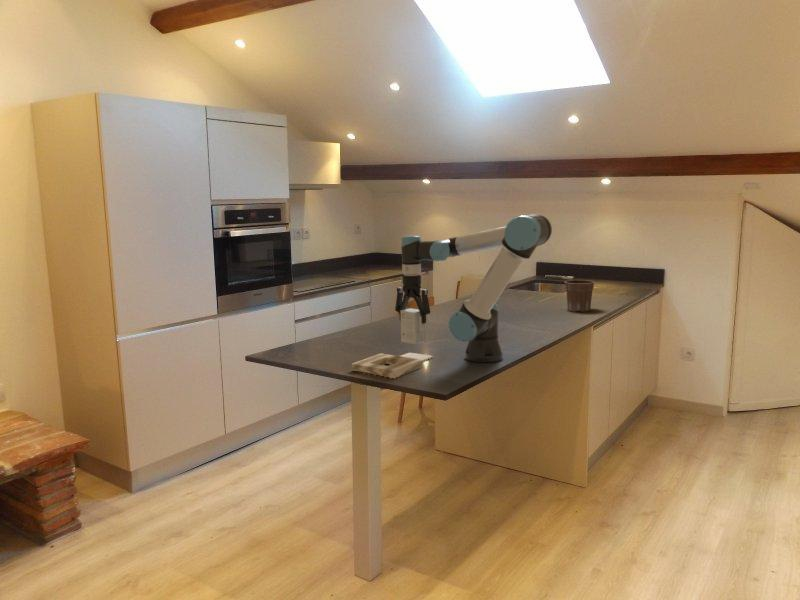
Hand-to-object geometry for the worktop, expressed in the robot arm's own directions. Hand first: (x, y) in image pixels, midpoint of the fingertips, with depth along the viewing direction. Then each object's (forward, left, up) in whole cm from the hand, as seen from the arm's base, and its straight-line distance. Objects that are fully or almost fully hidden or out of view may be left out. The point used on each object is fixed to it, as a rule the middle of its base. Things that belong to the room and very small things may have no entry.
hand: (413, 329), depth 254 cm
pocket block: (0, +18, -12) cm, 22 cm away
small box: (0, 0, -5) cm, 5 cm away
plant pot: (-19, -132, -12) cm, 134 cm away
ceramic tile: (0, 0, -12) cm, 12 cm away
